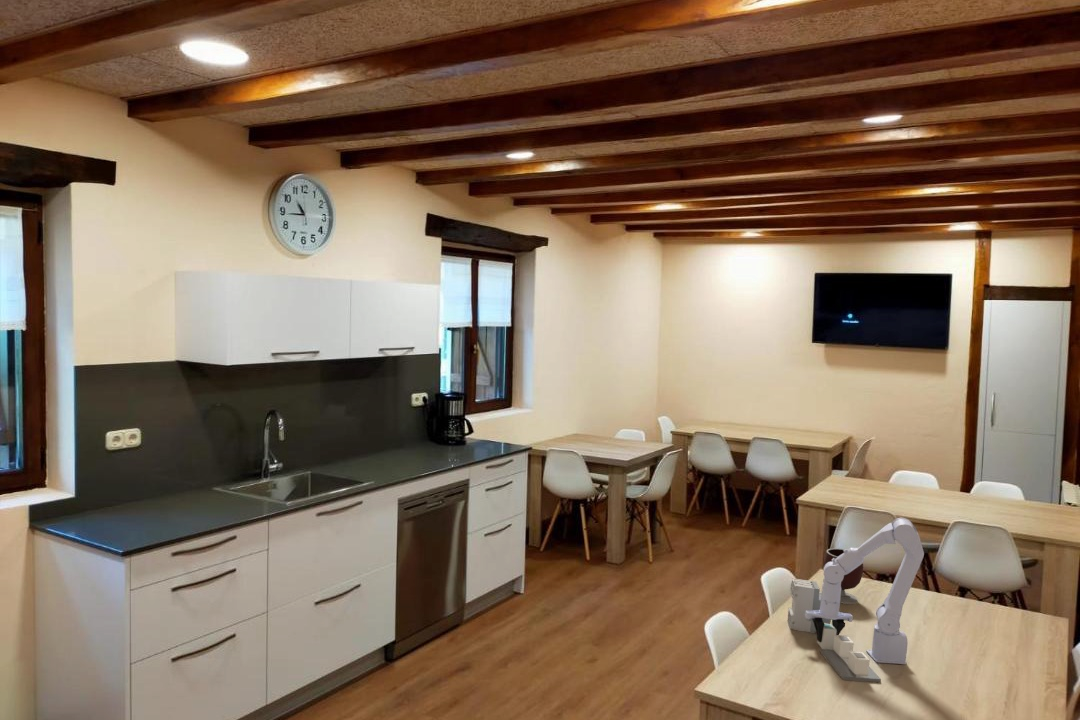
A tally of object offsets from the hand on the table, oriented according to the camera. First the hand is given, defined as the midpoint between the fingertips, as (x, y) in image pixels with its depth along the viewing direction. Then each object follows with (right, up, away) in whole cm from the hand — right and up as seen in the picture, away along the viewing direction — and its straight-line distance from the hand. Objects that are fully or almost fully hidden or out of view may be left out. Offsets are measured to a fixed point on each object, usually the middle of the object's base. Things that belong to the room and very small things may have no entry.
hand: (826, 641), depth 249 cm
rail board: (+2, -3, -14) cm, 14 cm away
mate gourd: (+23, 0, +45) cm, 51 cm away
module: (0, -2, 0) cm, 2 cm away
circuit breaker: (0, -1, +14) cm, 14 cm away
